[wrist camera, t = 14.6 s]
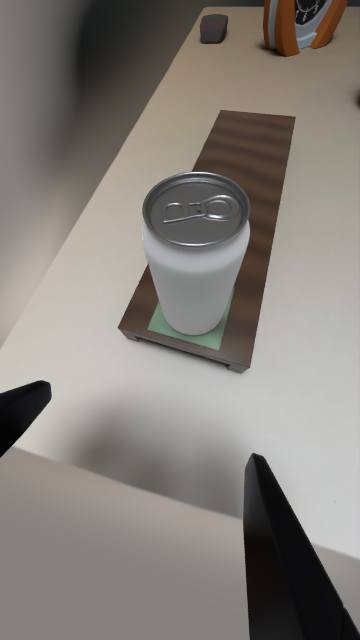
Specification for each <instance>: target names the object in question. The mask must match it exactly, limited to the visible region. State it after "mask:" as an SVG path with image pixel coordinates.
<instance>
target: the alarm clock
mask: <svg viewBox="0 0 360 640" xmlns="http://www.w3.org/2000/svg"><path fill="white" fill-rule="evenodd" d="M347 2H348V0H265V5H264V19H263V31H264V40H265V43H266V45H267V47H268V48H270V49H276V50H277V52H278V53H280V54H282V55H284V56H291V55H295V54H298V53H300V52H299V49H301V48H304V47H308V46H309V47H312V48H314V49H316V48H320V47H323V46H326V45H327V43H328V42H329V40H330V38H331V37H332V35H333V33H334V31H335V29H336V27H337V25H338V23H339V21H340V19H341V17H342V14H343V12H344V9H345V7H346V4H347Z"/></svg>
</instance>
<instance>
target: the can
mask: <svg viewBox="0 0 360 640" xmlns="http://www.w3.org/2000/svg"><path fill="white" fill-rule="evenodd" d="M142 212H143V218H144V222H143V226H142V241H143V246H144V250H145V254H146V257H147V261H148V264H149V268H150V271H151V275H152V278H153V282H154V285H155V288H156V292H157V295H158V299H159V302H160V305H161V308H162V312H163V315H164V317H165V319H166V321H167V323H168V324H169V325H170V326H171V327H172V328H173V329H174V330H176V331H177V332H179V333H182V334H185V335H201V334H205V333H207V332H209V331H211V330H212V329H214V328H215V327H216V326H217V325H218V323H219V322H220V320H221V318H222V316H223V314H224V311H225V308H226V306H227V303H228V300H229V297H230V295H231V292H232V289H233V286H234V283H235V281H236V278H237V275H238V272H239V269H240V266H241V264H242V261H243V258H244V255H245V252H246V249H247V245H248V242H249V237H250V226H249V221H248V218H249V215H250V201H249V198H248V196H247V194H246V192H245V191H244V190H243V189H242V188H241V187H240V186H239V185H238V184H237V183H236V182H234V181H233V180H231V179H229V178H227V177H224V176H222V175H219V174H215V173H209V172H187V173H181V174H178V175H174V176H171V177H169V178H167V179H165V180H163V181H161V182H160V183H158V184H157V185H156V186H154V187H153V188H152V189H151V190H150V192H149V193H148V194H147V196H146V198H145V200H144V203H143V209H142Z"/></svg>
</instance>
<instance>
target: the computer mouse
mask: <svg viewBox="0 0 360 640" xmlns="http://www.w3.org/2000/svg"><path fill="white" fill-rule="evenodd" d="M227 23H228V16H227V15H220V14H213V15H206V16H204V17H203V18H202V20H201V24H200V33H201V40H202V42H203V43H219V42H221V40H222V39H223V37H224V35H225V32H226V29H227Z"/></svg>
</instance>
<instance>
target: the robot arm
mask: <svg viewBox="0 0 360 640" xmlns="http://www.w3.org/2000/svg"><path fill="white" fill-rule="evenodd" d="M51 397H52V394H51V385H50V383H49V382H46V381H43V380H39V381H36V382H33V383H30V384H27V385H24V386H21V387H18V388H15V389H12V390H9V391H6V392H3V393H0V458H1V457H2V456H3V454H4V453H5V452H6V451H7V450H8V449H9V448H10V447H11V446H12V445H13V444H14V443H15V442H16V441H17V440H18V439H19V438H20V437H21V436H22V434H23V433H24V432H25V431H26V430H27V429H28V427H29V426H30V425H31V424H32V423H33V421H34V420H35V419H36V418H37V416H38V415H39V414H40V413H41V411H42V410H43V409H44V408H45V407H46V405H47V404H48V403H49V401H50V400H51ZM243 527H244V528H243V530H244V546H245V547H244V548H245V564H246V582H247V599H248V617H249V635H250V640H360V634H359V632H358V630H357V628H356V626H355V624H354V623H353V621H352V619H351V617H350V615H349V613H348V611H347V610H346V608H343V602H342V600H341V599H340V597H339V595H338V593H337V591H336V589H335V587H334V586H333V584H332V582H331V580H330V578H329V576H328V574H327V573H326V571H325V569H324V567H323V565H322V563H321V562H320V560H319V558H318V556H317V554H316V552H315V551H314V548H313V547H312V545H311V543H310V541H309V539H308V537H307V535H306V534H305V532H304V530H303V528H302V526H301V524H300V523H299V521H298V519H297V517H296V515H295V513H294V511H293V510H292V508H291V506H290V504H289V502H288V500H287V498H286V497H285V495H284V493H283V491H282V489H281V487H280V485H279V484H278V482H277V480H276V478H275V476H274V474H273V472H272V471H271V469H270V467H269V465H268V463H267V461H266V459H265V458H264V457H263V456H261V455H258V454H255V453H252V454H251V456H250V458H249V460H248V462H247V465H246V467H245V479H244V509H243Z"/></svg>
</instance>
